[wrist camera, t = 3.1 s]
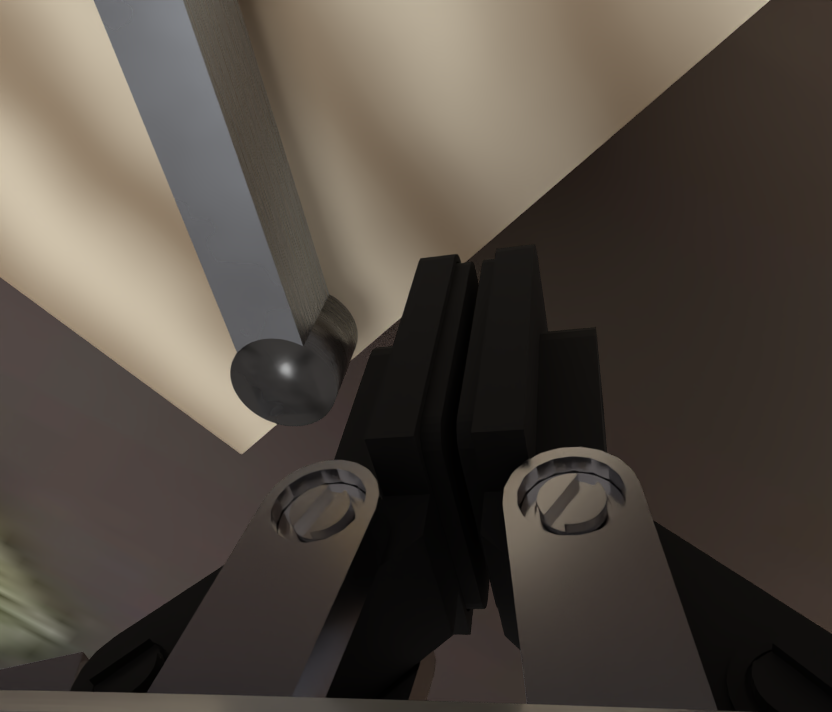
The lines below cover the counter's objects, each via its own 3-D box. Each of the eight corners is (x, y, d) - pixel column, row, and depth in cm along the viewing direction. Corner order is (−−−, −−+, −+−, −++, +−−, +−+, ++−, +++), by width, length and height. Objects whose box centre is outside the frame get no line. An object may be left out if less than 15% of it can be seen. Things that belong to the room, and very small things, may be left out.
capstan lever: (-179, -613, 12) (-345, -714, 10) (140, -779, 11) (31, -942, 9) (233, 374, 23) (198, 432, 21) (422, 357, 22) (406, 418, 19)
